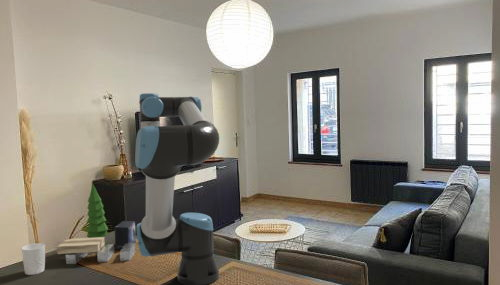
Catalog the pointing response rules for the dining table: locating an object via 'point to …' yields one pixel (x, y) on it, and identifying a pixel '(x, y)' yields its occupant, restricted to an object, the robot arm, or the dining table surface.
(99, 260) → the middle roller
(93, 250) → the oak slab
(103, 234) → the decorative tree
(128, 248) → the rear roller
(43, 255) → the white cup
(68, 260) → the grey marble block
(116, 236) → the small box
